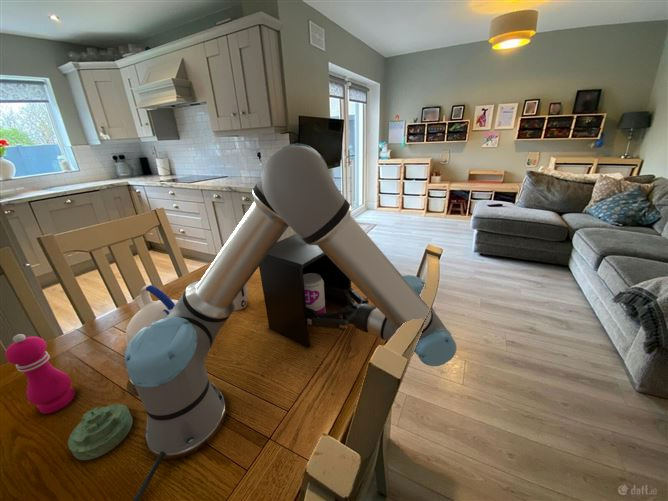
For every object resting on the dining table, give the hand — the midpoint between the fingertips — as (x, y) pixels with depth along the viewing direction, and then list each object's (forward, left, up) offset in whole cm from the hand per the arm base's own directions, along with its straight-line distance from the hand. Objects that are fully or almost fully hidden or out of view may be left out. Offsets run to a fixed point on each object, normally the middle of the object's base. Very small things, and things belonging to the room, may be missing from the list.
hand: (313, 298), depth 88 cm
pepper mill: (-42, +52, -8) cm, 67 cm away
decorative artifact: (-46, +33, -8) cm, 57 cm away
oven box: (0, +1, -8) cm, 8 cm away
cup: (+2, +30, -8) cm, 31 cm away
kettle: (-17, +44, -8) cm, 47 cm away
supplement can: (0, +1, -8) cm, 8 cm away
